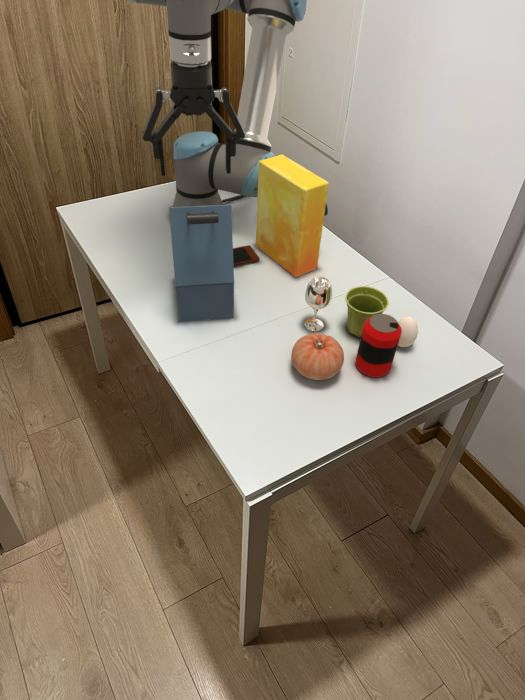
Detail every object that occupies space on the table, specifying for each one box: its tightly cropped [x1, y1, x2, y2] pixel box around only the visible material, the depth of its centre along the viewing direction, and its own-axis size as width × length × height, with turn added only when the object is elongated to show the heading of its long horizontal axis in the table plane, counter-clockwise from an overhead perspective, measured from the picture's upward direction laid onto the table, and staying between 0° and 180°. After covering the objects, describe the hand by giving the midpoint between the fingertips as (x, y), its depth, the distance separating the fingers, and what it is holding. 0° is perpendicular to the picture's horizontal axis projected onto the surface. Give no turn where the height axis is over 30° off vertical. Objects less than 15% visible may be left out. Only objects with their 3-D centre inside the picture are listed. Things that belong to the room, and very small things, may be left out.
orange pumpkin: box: [290, 332, 345, 381], centre depth 109 cm, size 11×11×8 cm
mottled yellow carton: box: [255, 154, 330, 278], centre depth 134 cm, size 18×12×24 cm
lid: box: [168, 204, 235, 287], centre depth 108 cm, size 16×13×7 cm
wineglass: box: [303, 275, 333, 332], centre depth 118 cm, size 6×6×12 cm
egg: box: [397, 316, 419, 348], centre depth 116 cm, size 5×5×8 cm
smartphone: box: [233, 245, 261, 268], centre depth 139 cm, size 7×1×15 cm
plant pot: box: [344, 285, 390, 338], centre depth 119 cm, size 9×9×9 cm
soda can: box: [355, 313, 402, 378], centre depth 109 cm, size 8×8×12 cm
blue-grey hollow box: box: [175, 282, 235, 323], centre depth 124 cm, size 16×13×10 cm
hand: (195, 172), depth 112 cm, fingers open, 13 cm apart
